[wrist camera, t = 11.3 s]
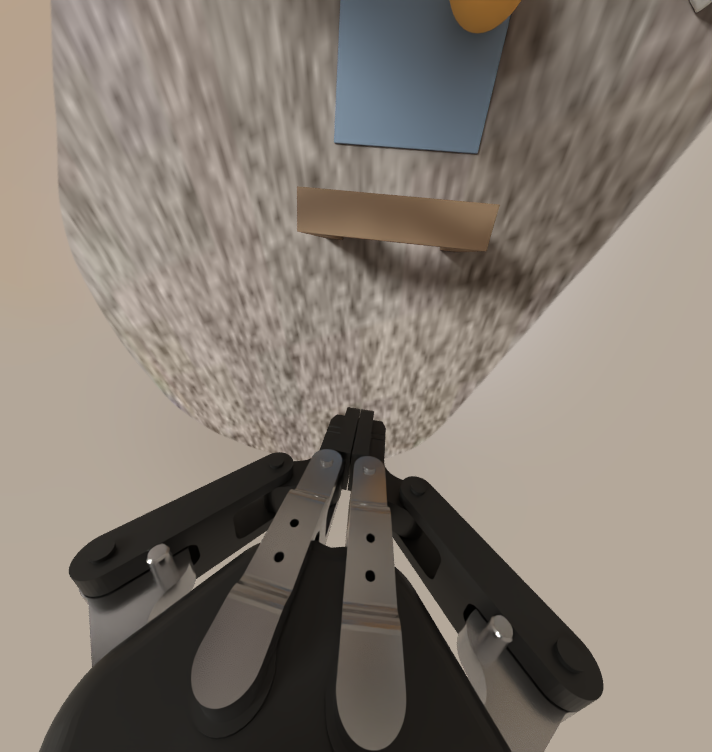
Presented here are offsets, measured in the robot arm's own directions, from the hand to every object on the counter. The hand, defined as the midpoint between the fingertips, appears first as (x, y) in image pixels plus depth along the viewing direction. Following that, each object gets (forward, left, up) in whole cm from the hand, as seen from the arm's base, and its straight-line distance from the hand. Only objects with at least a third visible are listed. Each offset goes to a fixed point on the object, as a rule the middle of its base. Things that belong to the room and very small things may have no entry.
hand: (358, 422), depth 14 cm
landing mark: (0, +25, -21) cm, 33 cm away
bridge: (0, +11, -21) cm, 24 cm away
